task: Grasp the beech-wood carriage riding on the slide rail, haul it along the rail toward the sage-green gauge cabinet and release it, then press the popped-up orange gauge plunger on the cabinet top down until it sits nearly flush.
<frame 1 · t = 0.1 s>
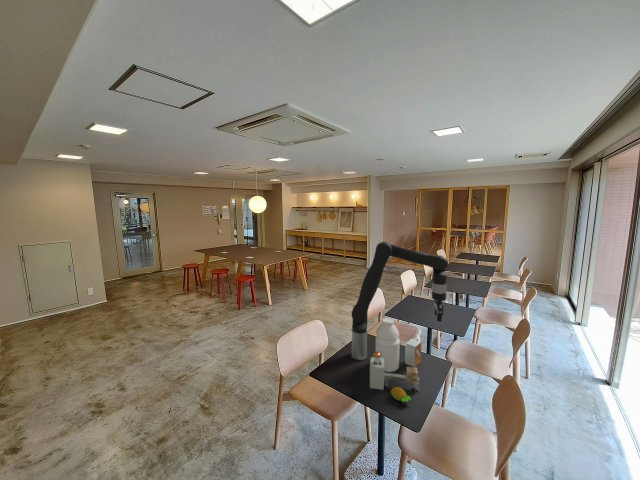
hand: (437, 318, 153), 29 cm above the table, fingers open, 8 cm apart
gauge plunger: (377, 361, 141), point 13 cm above the table, slide at 0.0 cm
gauge cabinet: (377, 383, 142), on the table
small box: (412, 363, 160), on the table
slide rail: (401, 386, 139), on the table
bottle: (387, 365, 158), on the table
carriage: (412, 375, 137), point 7 cm above the table, slide at 0.0 cm
toy pineapple: (400, 400, 130), on the table
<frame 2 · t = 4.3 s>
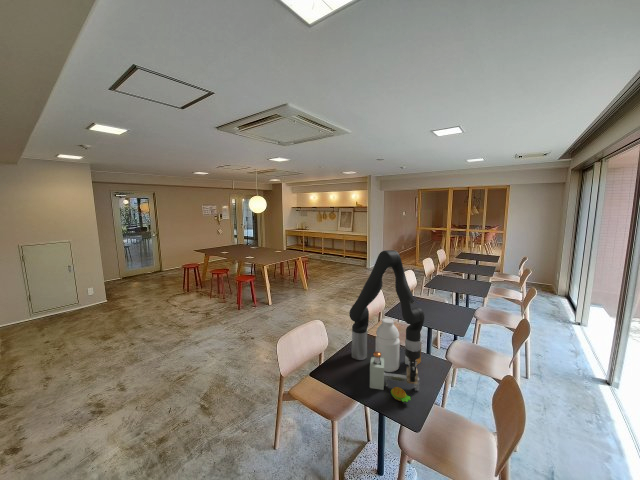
hand: (412, 377, 137), 6 cm above the table, fingers closed on carriage, 5 cm apart
carriage: (412, 375, 137), point 7 cm above the table, slide at 0.0 cm, touching gripper
everything else where it was.
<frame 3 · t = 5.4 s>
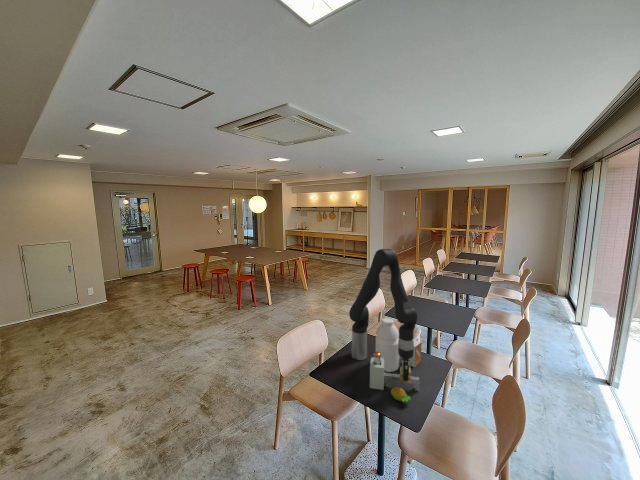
hand: (405, 377, 138), 6 cm above the table, fingers closed on carriage, 5 cm apart
carriage: (405, 374, 138), point 7 cm above the table, slide at 3.3 cm, touching gripper
everything else where it was.
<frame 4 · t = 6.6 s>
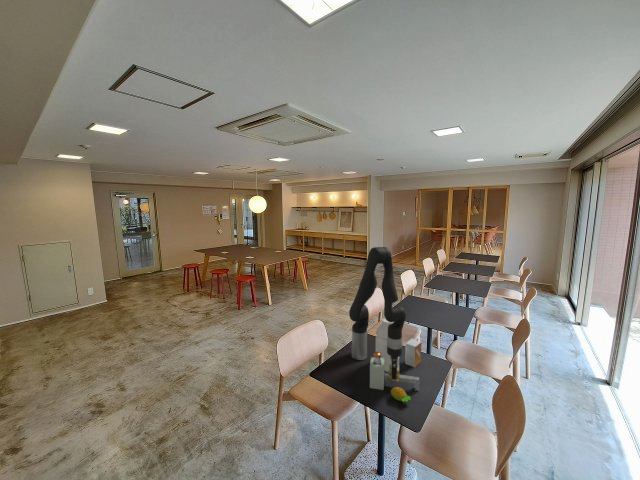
hand: (394, 375, 139), 6 cm above the table, fingers closed on carriage, 4 cm apart
carriage: (394, 372, 139), point 7 cm above the table, slide at 8.9 cm, touching gripper
everything else where it was.
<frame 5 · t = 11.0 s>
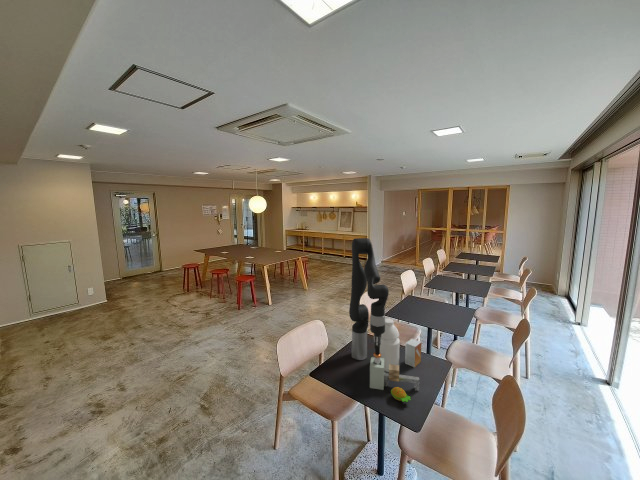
hand: (377, 353, 140), 17 cm above the table, fingers closed
gauge plunger: (377, 362, 141), point 12 cm above the table, slide at 0.3 cm, touching gripper
carriage: (394, 372, 139), point 7 cm above the table, slide at 8.9 cm
everything else where it was.
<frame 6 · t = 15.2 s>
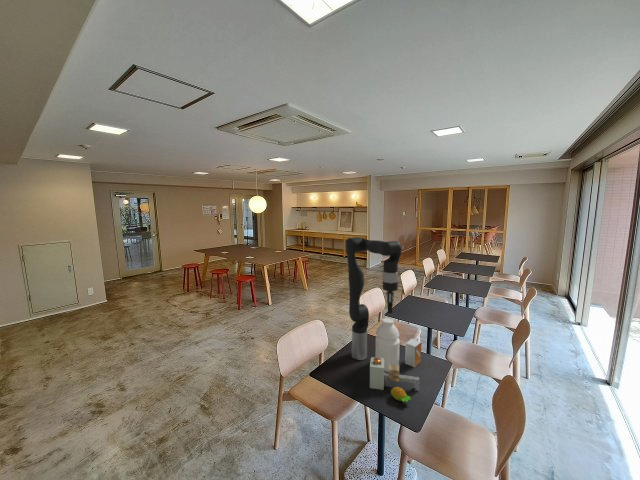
hand: (389, 312, 138), 39 cm above the table, fingers closed
gauge plunger: (377, 367, 141), point 9 cm above the table, slide at 3.5 cm
everything else where it was.
at the end: carriage slide at 8.9 cm; gauge plunger slide at 3.5 cm; the gripper is holding nothing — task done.
